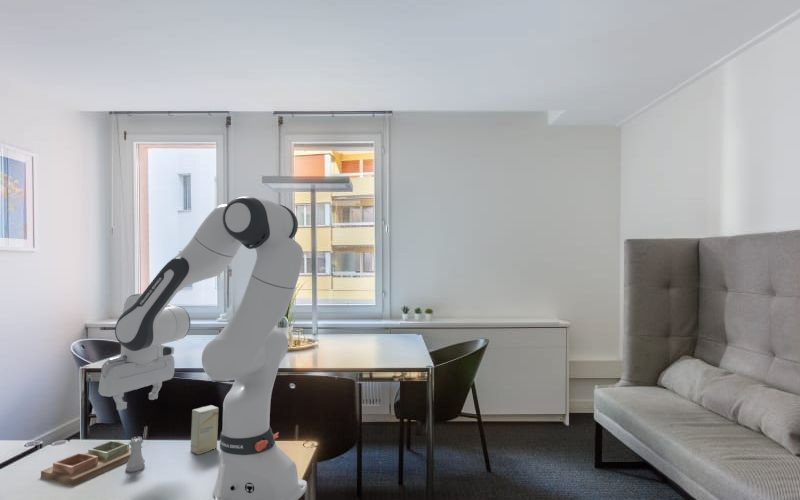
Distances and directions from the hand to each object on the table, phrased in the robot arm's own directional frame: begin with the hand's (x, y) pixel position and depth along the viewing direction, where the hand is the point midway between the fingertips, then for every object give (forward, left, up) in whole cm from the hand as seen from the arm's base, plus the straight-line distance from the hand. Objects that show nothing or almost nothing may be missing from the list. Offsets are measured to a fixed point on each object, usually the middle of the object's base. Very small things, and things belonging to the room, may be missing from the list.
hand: (138, 404), depth 116 cm
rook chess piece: (0, 0, -17) cm, 17 cm away
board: (+12, +3, -17) cm, 21 cm away
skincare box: (-8, -16, -17) cm, 25 cm away
